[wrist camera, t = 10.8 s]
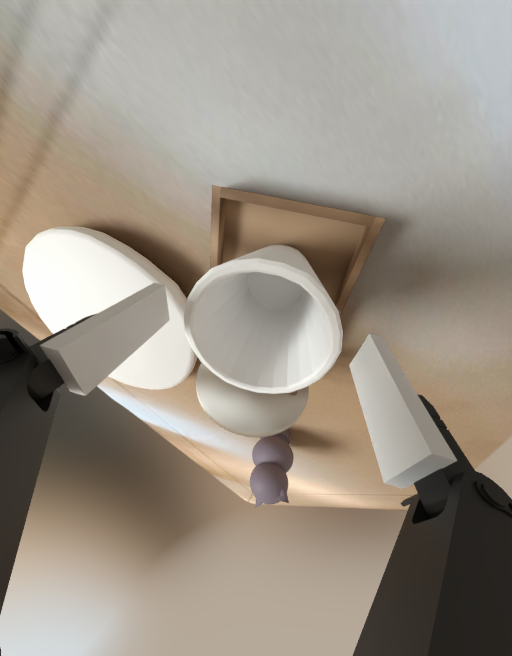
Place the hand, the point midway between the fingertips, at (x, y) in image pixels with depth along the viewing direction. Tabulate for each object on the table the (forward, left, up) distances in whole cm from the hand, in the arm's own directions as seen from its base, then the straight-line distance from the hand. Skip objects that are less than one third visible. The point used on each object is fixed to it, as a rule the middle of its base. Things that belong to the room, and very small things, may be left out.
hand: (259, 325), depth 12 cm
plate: (+13, -23, -13) cm, 29 cm away
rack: (+4, 0, -13) cm, 14 cm away
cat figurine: (+35, +7, -13) cm, 38 cm away
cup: (0, 0, -12) cm, 12 cm away
